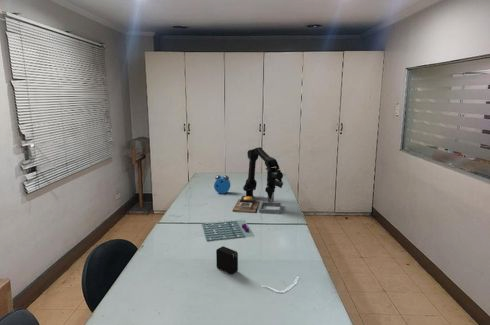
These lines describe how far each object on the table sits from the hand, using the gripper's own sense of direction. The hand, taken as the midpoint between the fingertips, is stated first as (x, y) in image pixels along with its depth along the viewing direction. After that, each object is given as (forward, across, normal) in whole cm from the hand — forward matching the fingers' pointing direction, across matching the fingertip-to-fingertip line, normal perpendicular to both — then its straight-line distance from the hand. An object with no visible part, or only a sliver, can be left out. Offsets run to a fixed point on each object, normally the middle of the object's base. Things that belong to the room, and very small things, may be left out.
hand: (270, 198), depth 234 cm
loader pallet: (+8, +3, +18) cm, 20 cm away
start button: (+6, +10, +18) cm, 21 cm away
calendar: (+9, -39, +23) cm, 47 cm away
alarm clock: (+9, +32, +43) cm, 54 cm away
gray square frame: (+8, 0, 0) cm, 8 cm away
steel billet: (+3, 0, 0) cm, 3 cm away
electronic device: (+9, -85, +13) cm, 86 cm away
